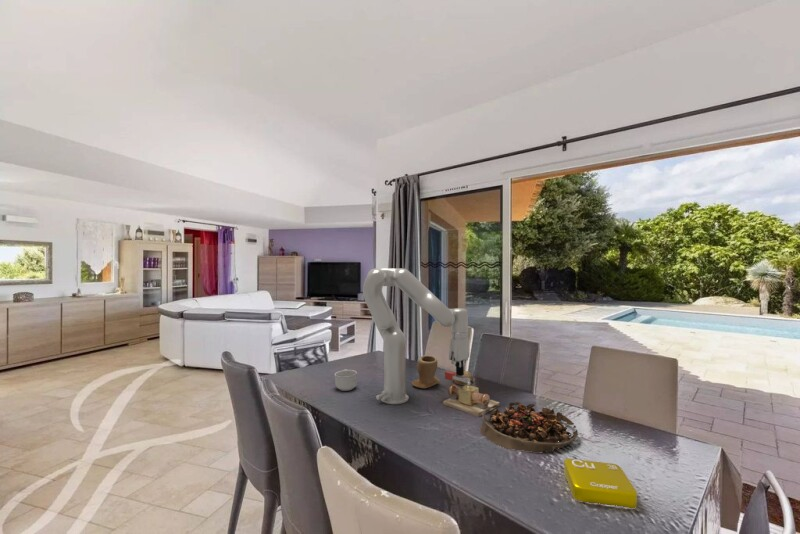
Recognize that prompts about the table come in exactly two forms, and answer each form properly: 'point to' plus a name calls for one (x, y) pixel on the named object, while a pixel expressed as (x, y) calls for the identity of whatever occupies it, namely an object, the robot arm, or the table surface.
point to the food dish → (527, 428)
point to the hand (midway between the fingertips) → (459, 375)
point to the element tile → (599, 483)
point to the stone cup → (426, 372)
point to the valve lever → (456, 377)
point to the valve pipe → (469, 395)
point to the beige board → (467, 408)
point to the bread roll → (467, 375)
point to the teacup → (346, 379)
